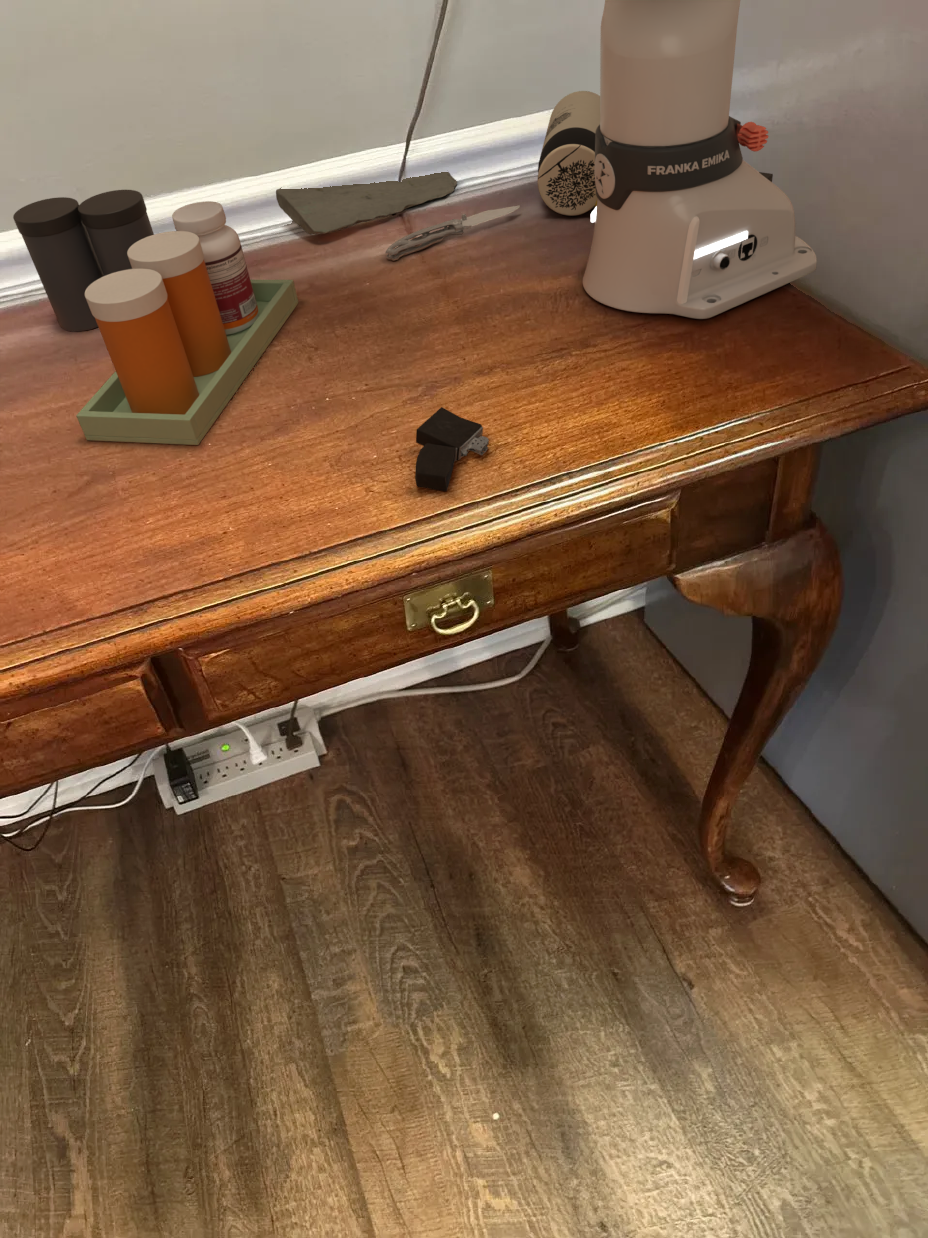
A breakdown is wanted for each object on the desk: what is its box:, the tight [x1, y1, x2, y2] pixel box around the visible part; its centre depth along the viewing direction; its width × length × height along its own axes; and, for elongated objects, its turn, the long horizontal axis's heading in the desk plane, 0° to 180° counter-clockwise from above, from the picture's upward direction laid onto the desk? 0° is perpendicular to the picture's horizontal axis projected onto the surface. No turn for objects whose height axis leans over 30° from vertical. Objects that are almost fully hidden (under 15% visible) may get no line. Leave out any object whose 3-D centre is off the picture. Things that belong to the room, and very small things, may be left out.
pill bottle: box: [171, 200, 259, 335], centre depth 90 cm, size 6×6×11 cm
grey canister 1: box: [12, 196, 104, 332], centre depth 95 cm, size 6×6×11 cm
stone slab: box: [275, 171, 458, 235], centre depth 112 cm, size 22×3×10 cm
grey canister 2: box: [78, 189, 154, 276], centre depth 95 cm, size 6×6×11 cm
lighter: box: [414, 406, 490, 493], centre depth 74 cm, size 8×2×5 cm
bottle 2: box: [85, 269, 199, 415], centre depth 80 cm, size 6×6×11 cm
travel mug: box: [537, 90, 600, 217], centre depth 109 cm, size 8×8×18 cm
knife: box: [385, 205, 521, 262], centre depth 105 cm, size 2×18×3 cm
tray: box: [75, 279, 300, 446], centre depth 88 cm, size 26×11×2 cm, turn 168°
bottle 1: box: [127, 230, 231, 377], centre depth 85 cm, size 6×6×11 cm
